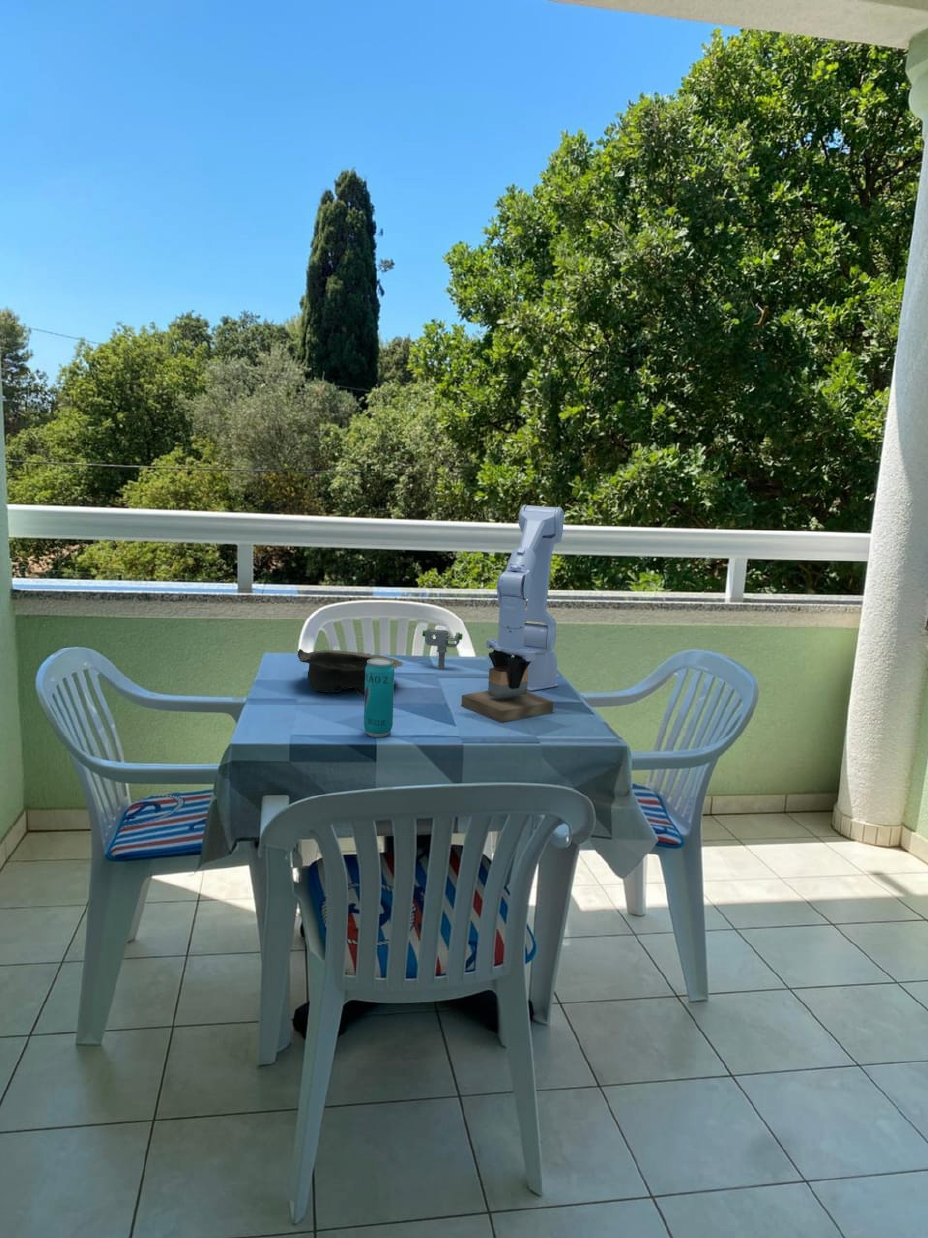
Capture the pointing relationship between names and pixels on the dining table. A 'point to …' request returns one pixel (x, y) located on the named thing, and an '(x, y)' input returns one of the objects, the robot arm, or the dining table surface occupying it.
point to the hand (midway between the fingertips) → (508, 685)
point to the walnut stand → (507, 706)
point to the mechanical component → (441, 642)
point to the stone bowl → (338, 669)
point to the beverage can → (379, 697)
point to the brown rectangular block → (505, 683)
